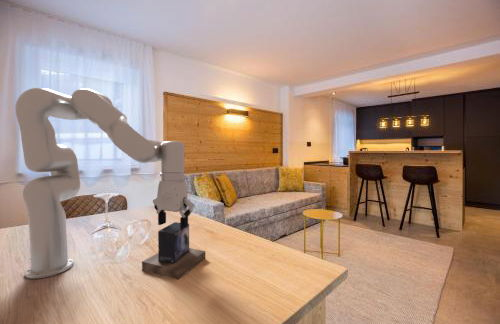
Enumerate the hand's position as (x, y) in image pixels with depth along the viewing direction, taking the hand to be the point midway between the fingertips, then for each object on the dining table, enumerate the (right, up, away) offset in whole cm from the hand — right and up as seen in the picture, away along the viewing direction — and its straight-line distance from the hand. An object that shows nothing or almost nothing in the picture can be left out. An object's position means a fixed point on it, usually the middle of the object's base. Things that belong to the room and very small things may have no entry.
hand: (172, 225), depth 83 cm
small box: (+1, -11, +1) cm, 11 cm away
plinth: (+1, -14, +1) cm, 14 cm away
